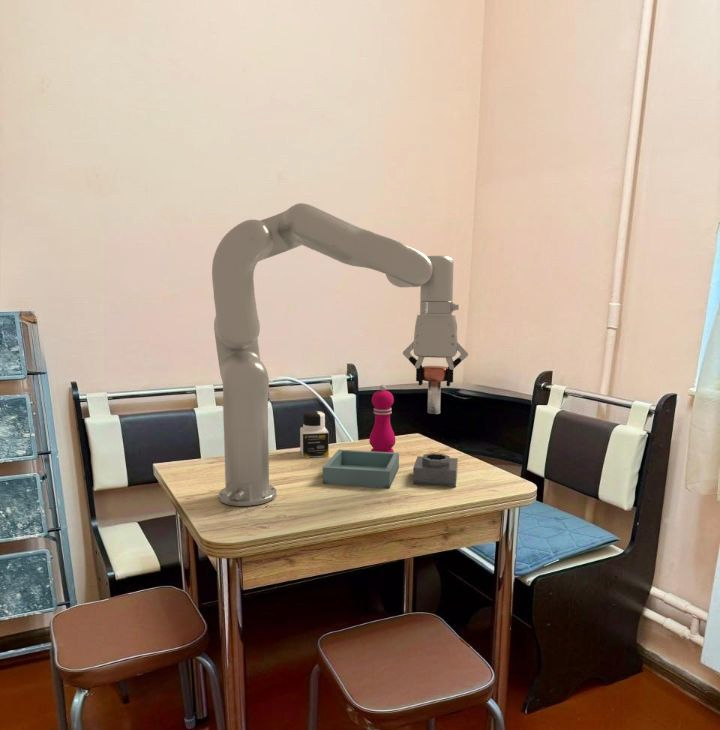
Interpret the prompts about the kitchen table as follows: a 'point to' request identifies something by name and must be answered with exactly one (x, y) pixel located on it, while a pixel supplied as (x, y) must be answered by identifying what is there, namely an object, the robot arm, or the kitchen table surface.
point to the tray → (361, 468)
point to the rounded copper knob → (434, 385)
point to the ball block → (435, 470)
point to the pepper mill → (382, 422)
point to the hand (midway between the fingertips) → (434, 384)
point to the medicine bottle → (314, 435)
